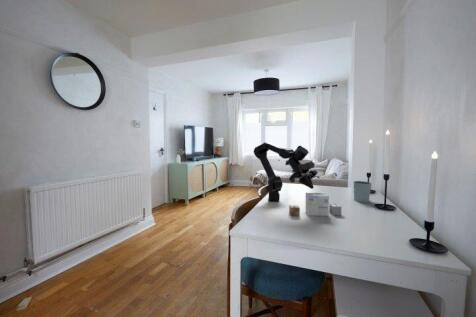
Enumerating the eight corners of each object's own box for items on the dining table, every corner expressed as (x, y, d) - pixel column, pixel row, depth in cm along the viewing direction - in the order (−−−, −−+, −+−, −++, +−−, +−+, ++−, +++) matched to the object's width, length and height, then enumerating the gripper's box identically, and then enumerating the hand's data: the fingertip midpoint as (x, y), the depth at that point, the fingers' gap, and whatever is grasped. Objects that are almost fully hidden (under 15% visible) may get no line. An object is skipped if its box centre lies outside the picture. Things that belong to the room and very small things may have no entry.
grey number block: (332, 215, 112) (332, 205, 112) (329, 212, 117) (329, 203, 116) (341, 215, 112) (341, 206, 112) (337, 212, 117) (338, 203, 116)
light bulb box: (325, 212, 117) (325, 192, 116) (329, 216, 110) (329, 195, 109) (304, 211, 118) (305, 192, 117) (307, 215, 111) (307, 195, 110)
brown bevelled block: (290, 216, 111) (290, 206, 110) (289, 213, 115) (289, 204, 115) (299, 216, 110) (299, 207, 110) (297, 213, 115) (297, 204, 114)
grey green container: (349, 199, 142) (350, 181, 141) (359, 197, 146) (360, 180, 145) (363, 203, 133) (364, 184, 132) (374, 201, 137) (375, 182, 136)
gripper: (293, 157, 113) (311, 181, 105) (315, 156, 124) (332, 177, 116) (282, 170, 120) (298, 194, 112) (303, 168, 131) (319, 189, 123)
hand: (312, 188), depth 115 cm, fingers closed
